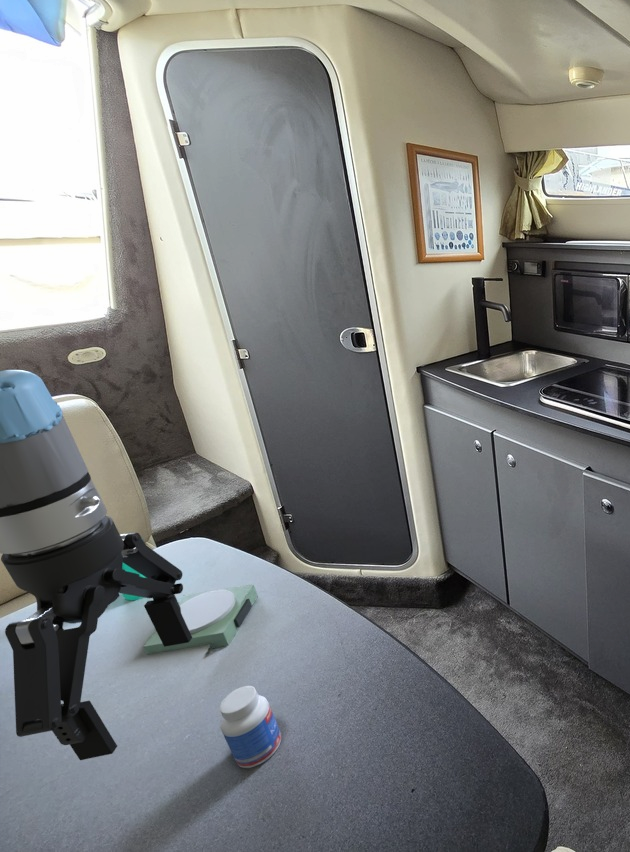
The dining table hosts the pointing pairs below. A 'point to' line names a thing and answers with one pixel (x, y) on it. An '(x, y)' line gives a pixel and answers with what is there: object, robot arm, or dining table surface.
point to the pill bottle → (249, 727)
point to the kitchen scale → (210, 617)
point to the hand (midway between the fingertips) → (143, 691)
